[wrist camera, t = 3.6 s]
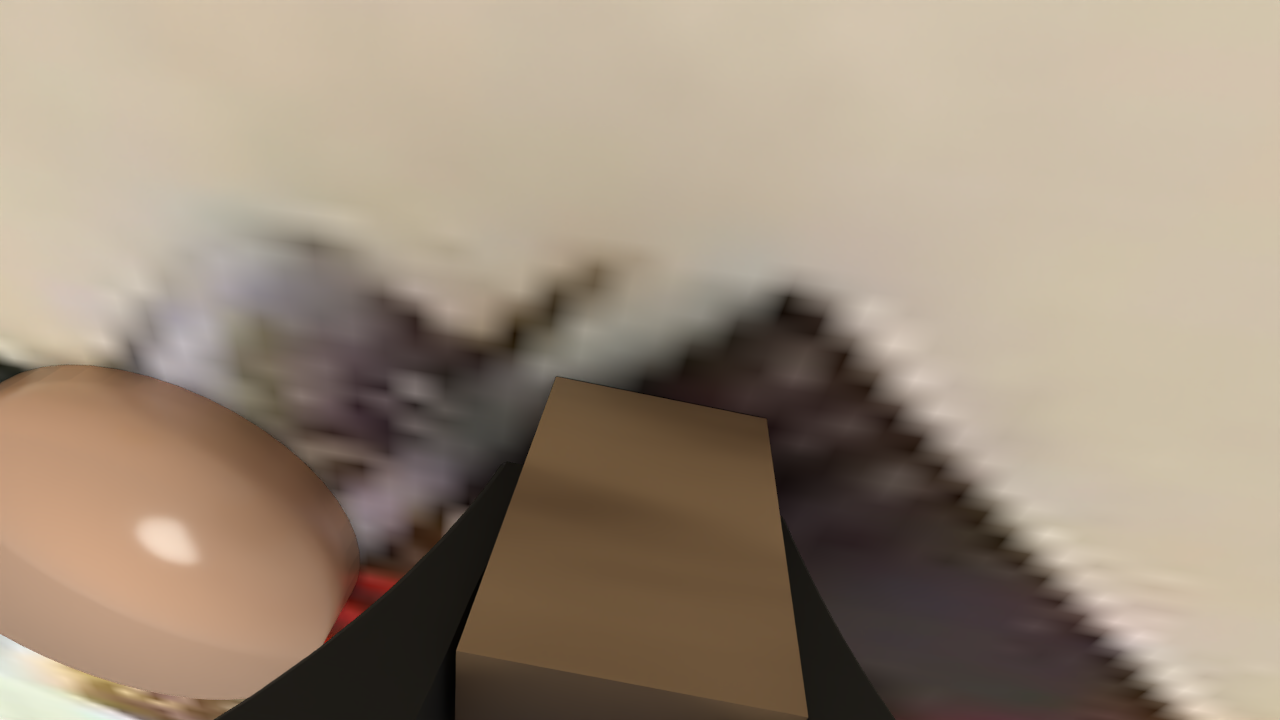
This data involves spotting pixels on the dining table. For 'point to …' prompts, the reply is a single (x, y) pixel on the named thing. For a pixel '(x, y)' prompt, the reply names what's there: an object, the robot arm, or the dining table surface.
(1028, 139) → the dining table surface
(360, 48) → the dining table surface
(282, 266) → the dining table surface
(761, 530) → the walnut block
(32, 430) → the tan round disc
